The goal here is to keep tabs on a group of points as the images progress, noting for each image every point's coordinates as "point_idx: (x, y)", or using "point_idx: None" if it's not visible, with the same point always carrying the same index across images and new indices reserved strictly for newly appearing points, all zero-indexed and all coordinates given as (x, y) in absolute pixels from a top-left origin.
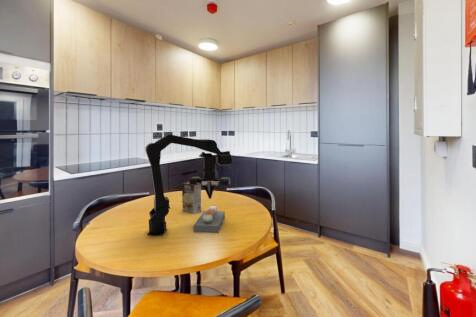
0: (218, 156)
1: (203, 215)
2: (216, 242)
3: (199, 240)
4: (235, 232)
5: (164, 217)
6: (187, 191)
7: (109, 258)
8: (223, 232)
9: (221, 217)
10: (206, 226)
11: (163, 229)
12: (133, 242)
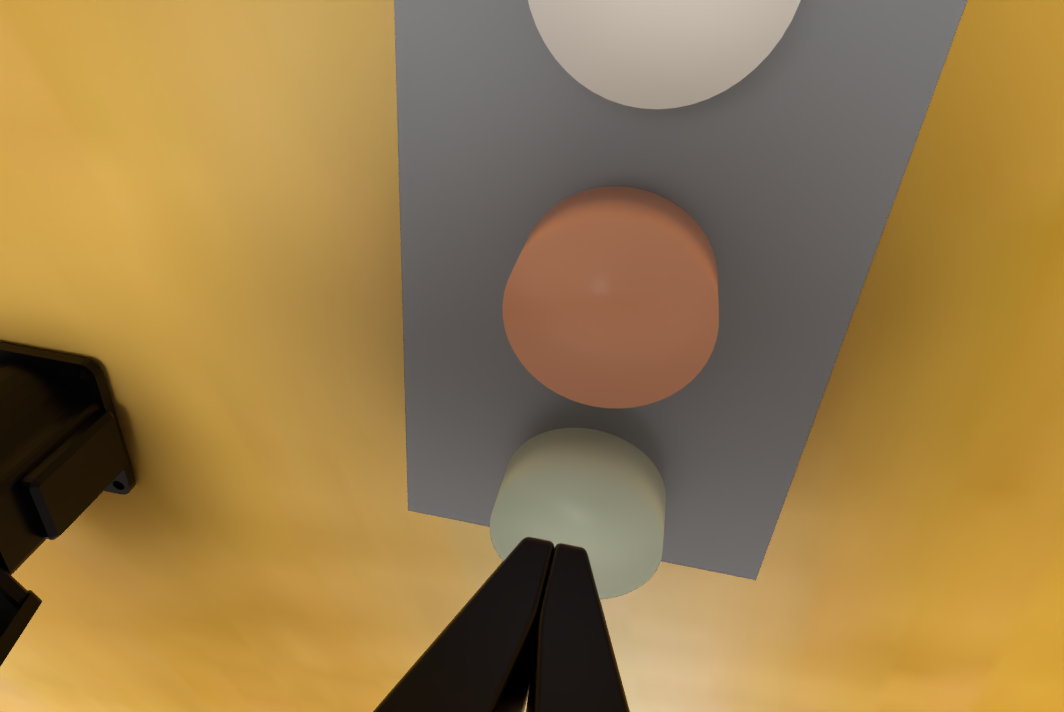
0: None
1: (496, 507)
2: (717, 673)
3: None
4: (999, 521)
5: (14, 637)
6: None
7: (45, 701)
8: (823, 499)
9: (859, 258)
10: None
11: (99, 488)
12: None
